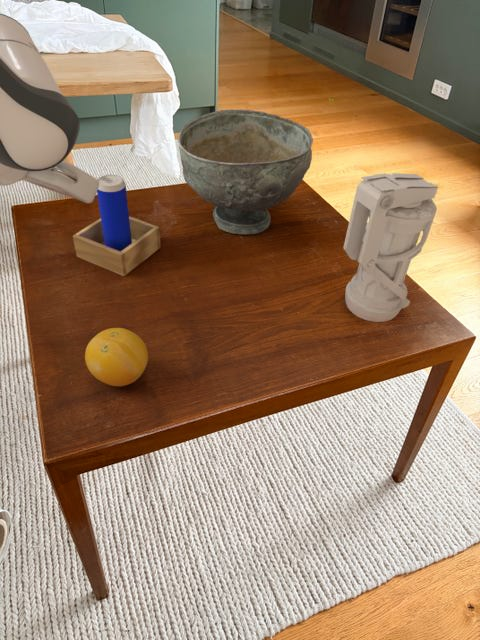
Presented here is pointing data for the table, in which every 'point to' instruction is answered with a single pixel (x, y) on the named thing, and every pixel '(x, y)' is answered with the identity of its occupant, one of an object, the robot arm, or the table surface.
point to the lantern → (386, 241)
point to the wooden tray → (96, 252)
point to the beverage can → (114, 212)
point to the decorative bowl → (244, 164)
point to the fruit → (116, 356)
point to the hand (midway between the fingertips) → (68, 188)
